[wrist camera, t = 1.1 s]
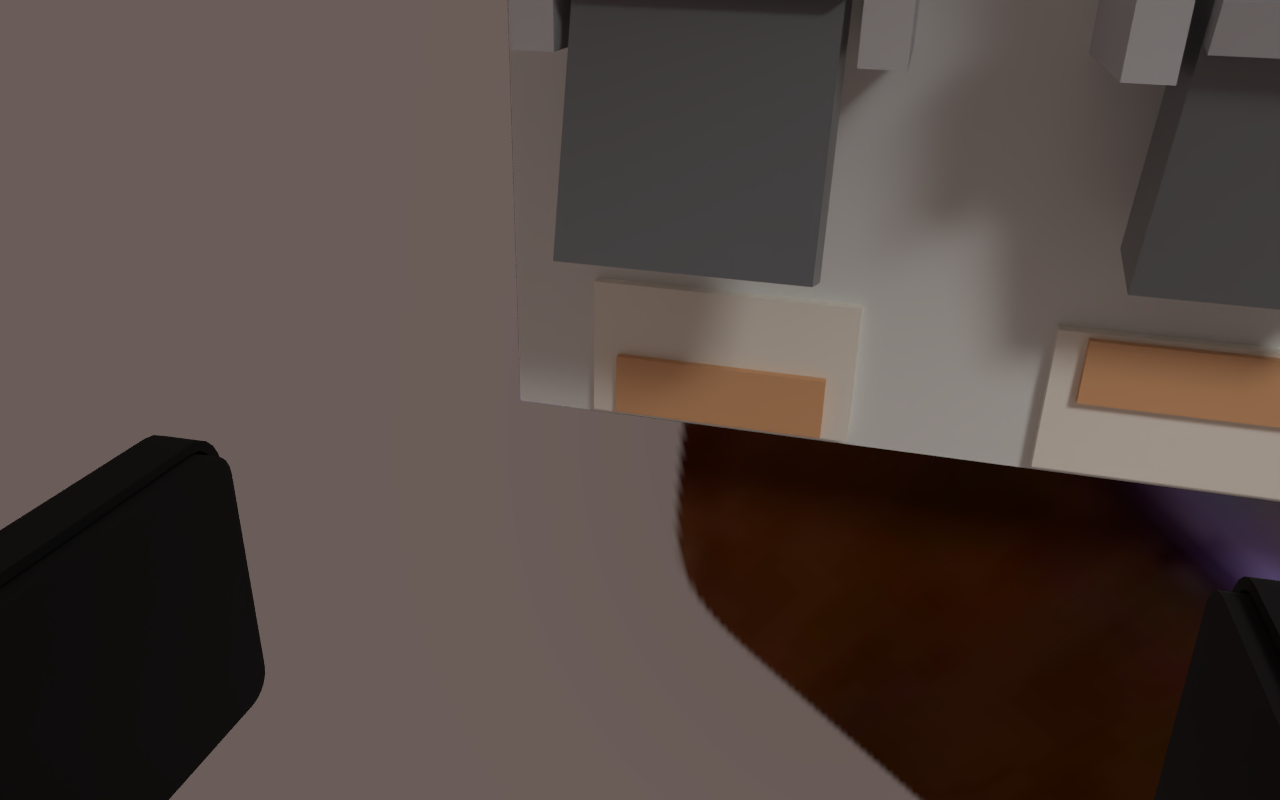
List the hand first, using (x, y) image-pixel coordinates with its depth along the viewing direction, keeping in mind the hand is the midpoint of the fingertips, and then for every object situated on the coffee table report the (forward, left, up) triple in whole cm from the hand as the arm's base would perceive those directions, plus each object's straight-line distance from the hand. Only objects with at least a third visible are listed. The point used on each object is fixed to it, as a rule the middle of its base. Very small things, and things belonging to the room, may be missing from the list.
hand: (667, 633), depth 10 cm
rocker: (-5, -2, -11) cm, 12 cm away
